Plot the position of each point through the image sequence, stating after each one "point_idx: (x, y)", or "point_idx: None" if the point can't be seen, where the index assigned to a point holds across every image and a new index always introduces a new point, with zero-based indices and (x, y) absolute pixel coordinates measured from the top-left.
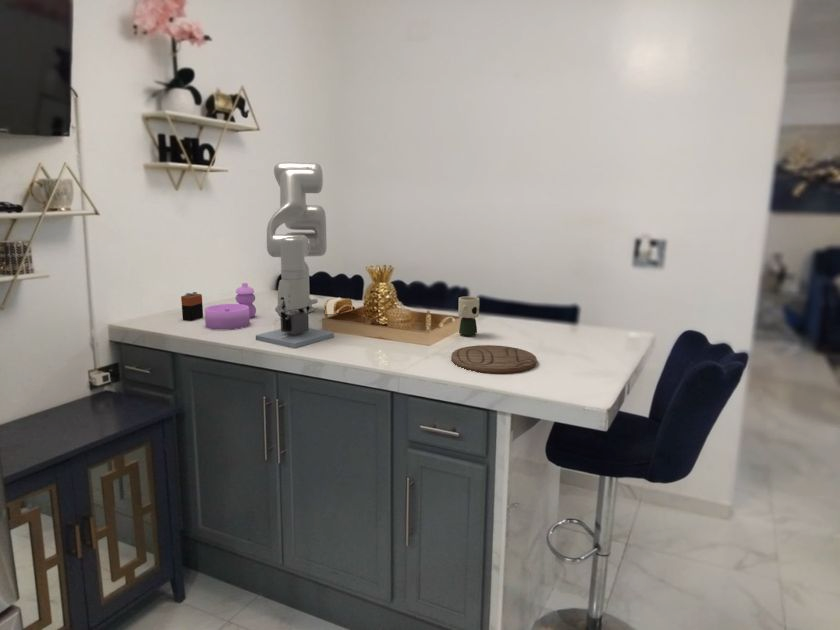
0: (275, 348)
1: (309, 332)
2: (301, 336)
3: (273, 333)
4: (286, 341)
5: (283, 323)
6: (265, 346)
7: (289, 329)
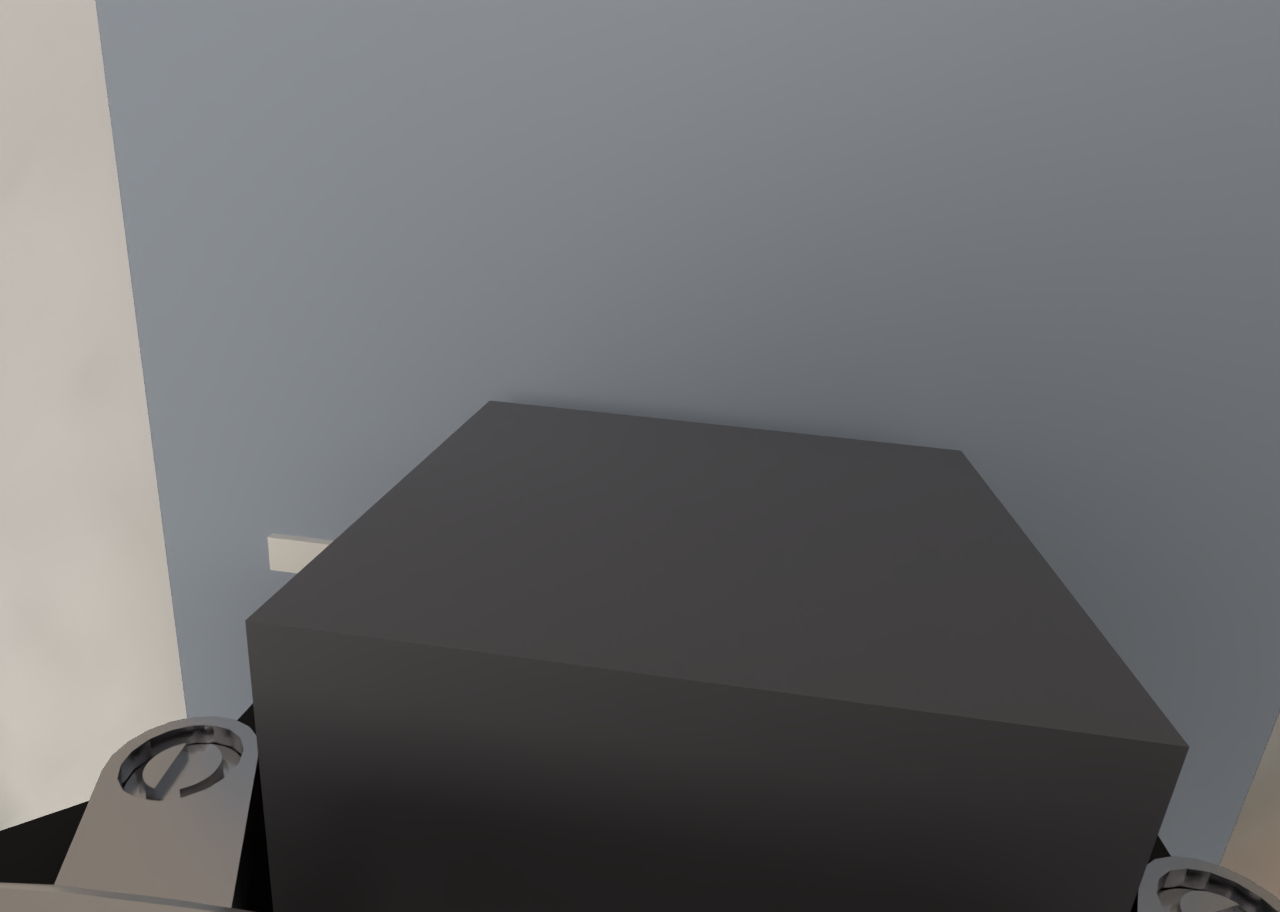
0: (72, 670)
1: None
2: None
3: (458, 179)
4: None
5: None
6: (25, 476)
7: None
